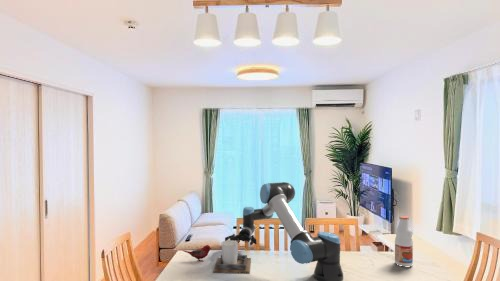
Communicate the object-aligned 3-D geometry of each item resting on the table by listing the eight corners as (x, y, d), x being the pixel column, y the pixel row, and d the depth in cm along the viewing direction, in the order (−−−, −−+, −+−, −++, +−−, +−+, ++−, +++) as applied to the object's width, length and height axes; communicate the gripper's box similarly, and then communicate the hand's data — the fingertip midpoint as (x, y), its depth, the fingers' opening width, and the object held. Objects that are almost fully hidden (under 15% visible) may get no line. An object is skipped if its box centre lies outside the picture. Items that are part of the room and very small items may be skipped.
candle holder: (217, 264, 190) (217, 243, 190) (228, 259, 198) (228, 239, 198) (231, 268, 184) (231, 246, 184) (241, 262, 193) (241, 242, 192)
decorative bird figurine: (211, 262, 195) (211, 246, 195) (181, 261, 197) (181, 244, 197) (212, 261, 198) (212, 244, 198) (183, 259, 200) (183, 243, 200)
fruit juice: (401, 260, 199) (401, 213, 198) (416, 265, 191) (416, 217, 190) (391, 263, 194) (391, 215, 193) (406, 269, 186) (406, 219, 185)
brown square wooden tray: (250, 259, 200) (250, 253, 200) (249, 273, 180) (249, 267, 180) (218, 259, 201) (218, 253, 201) (213, 272, 181) (213, 266, 181)
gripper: (263, 240, 218) (257, 252, 197) (227, 238, 223) (217, 249, 202) (263, 229, 218) (257, 239, 197) (227, 227, 223) (217, 237, 202)
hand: (237, 244), depth 200 cm, fingers open, 13 cm apart
